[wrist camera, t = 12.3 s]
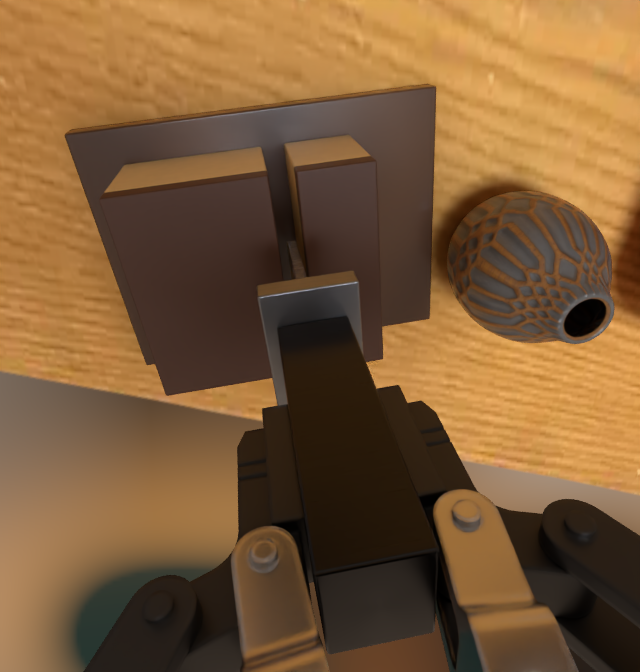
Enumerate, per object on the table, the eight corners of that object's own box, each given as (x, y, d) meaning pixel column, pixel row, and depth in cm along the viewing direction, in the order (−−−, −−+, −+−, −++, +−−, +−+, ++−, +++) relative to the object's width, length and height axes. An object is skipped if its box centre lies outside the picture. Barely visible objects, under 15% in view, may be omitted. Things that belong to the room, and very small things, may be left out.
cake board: (148, 355, 28) (146, 366, 27) (69, 129, 21) (63, 134, 21) (424, 310, 29) (430, 319, 28) (429, 83, 23) (436, 86, 22)
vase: (515, 304, 30) (608, 397, 23) (412, 284, 28) (476, 376, 21) (574, 193, 27) (705, 258, 19) (462, 161, 25) (559, 219, 17)
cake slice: (305, 316, 27) (319, 370, 23) (283, 143, 22) (295, 171, 18) (360, 307, 27) (383, 359, 23) (349, 134, 22) (377, 159, 18)
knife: (269, 329, 22) (313, 685, 10) (250, 222, 20) (279, 539, 8) (335, 318, 22) (452, 656, 11) (325, 211, 20) (467, 503, 8)
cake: (176, 337, 26) (165, 396, 22) (123, 164, 22) (97, 199, 17) (287, 319, 27) (298, 374, 23) (260, 145, 22) (268, 175, 18)
